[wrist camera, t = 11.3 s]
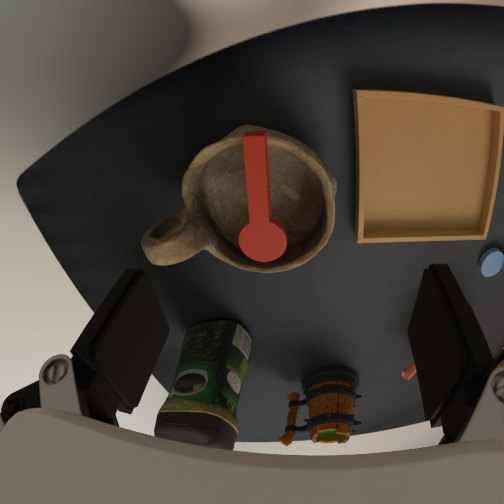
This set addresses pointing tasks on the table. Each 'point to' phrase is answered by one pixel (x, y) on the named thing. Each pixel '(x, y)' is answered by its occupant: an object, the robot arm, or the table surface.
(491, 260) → the blue paddle
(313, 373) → the mug
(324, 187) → the bowl
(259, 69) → the table surface
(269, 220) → the red spoon
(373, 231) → the tray
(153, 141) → the table surface
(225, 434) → the coffee jar
